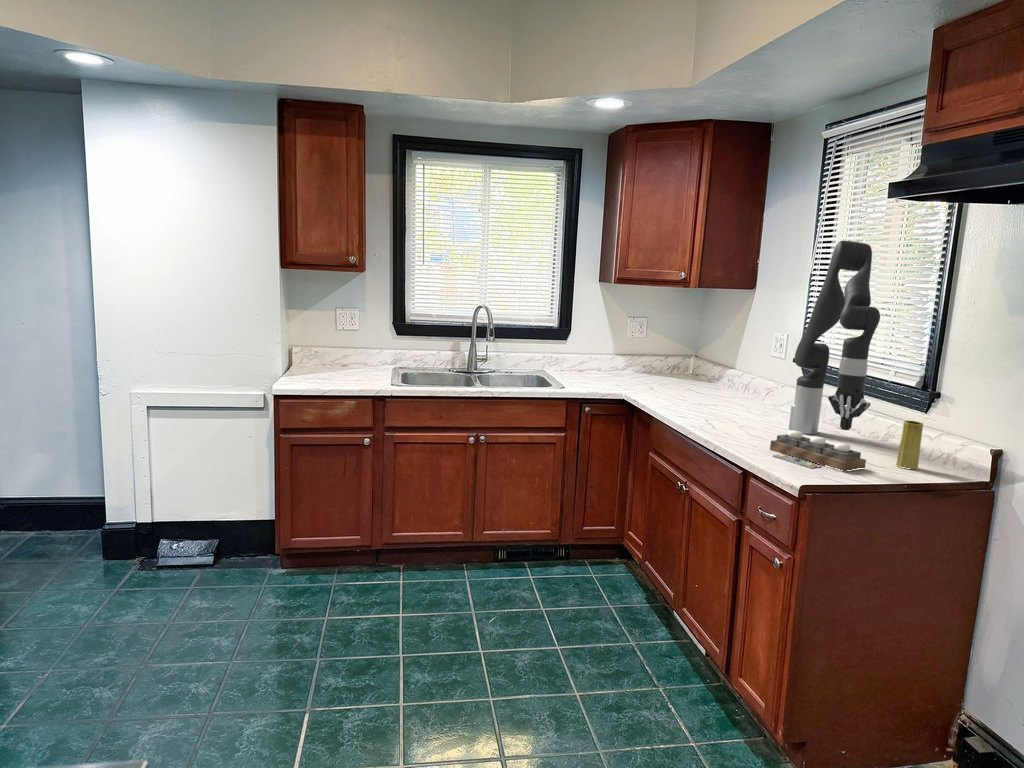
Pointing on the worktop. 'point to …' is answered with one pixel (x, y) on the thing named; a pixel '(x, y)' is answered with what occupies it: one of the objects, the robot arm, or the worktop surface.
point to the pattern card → (796, 460)
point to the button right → (842, 447)
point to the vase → (910, 445)
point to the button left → (794, 434)
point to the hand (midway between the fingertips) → (845, 429)
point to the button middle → (817, 441)
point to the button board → (817, 453)
